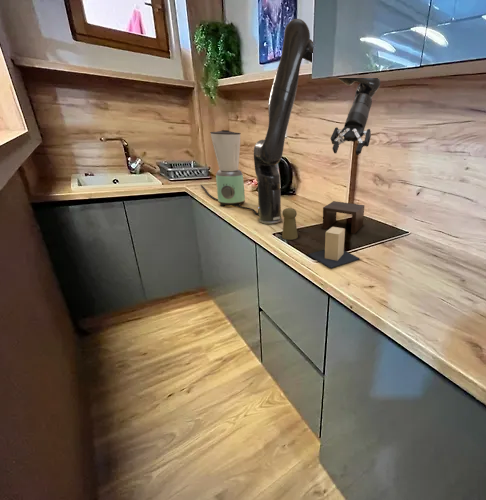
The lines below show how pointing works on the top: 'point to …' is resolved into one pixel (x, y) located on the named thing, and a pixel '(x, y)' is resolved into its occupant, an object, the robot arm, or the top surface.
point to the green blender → (228, 168)
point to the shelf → (346, 208)
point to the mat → (333, 263)
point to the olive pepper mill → (289, 224)
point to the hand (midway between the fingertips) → (345, 152)
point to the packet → (334, 243)
